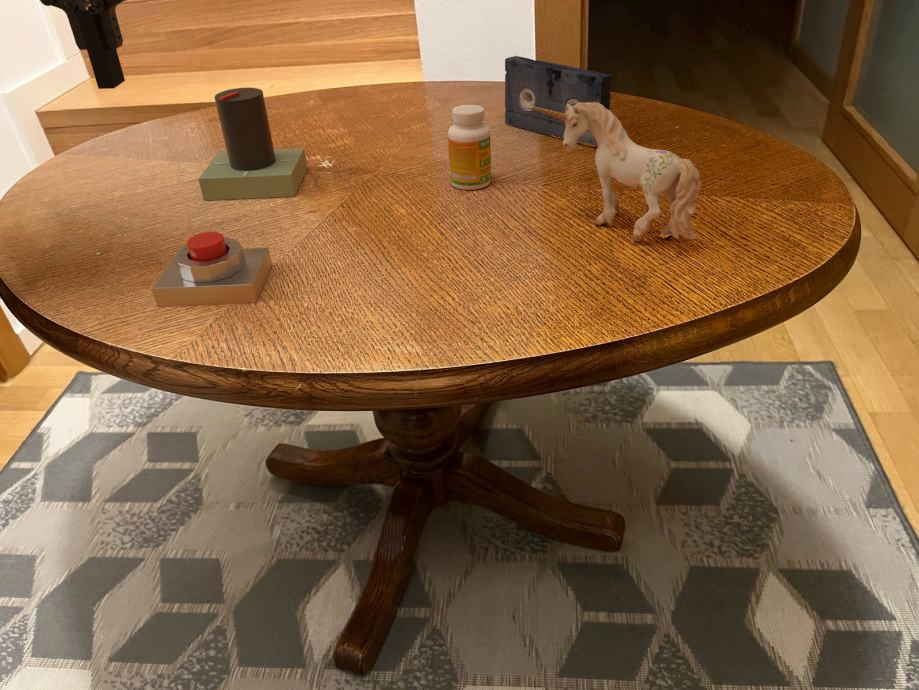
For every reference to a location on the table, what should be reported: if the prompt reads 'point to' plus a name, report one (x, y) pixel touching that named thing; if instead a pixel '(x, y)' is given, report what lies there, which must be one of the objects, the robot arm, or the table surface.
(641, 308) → the table surface
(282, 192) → the dial panel
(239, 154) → the dial
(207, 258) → the button
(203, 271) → the button box
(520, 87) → the vhs cassette tape
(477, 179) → the supplement bottle
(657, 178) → the unicorn figurine
